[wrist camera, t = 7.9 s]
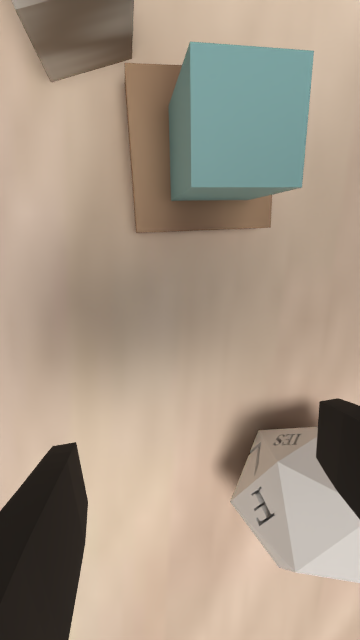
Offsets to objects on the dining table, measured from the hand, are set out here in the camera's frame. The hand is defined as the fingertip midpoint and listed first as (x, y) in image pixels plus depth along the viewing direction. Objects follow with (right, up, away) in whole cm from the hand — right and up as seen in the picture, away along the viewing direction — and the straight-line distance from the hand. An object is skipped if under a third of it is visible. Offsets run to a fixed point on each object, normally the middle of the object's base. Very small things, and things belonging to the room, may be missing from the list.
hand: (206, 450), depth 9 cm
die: (+7, -6, +14) cm, 17 cm away
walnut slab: (0, +12, +8) cm, 15 cm away
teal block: (+1, +12, +6) cm, 13 cm away
